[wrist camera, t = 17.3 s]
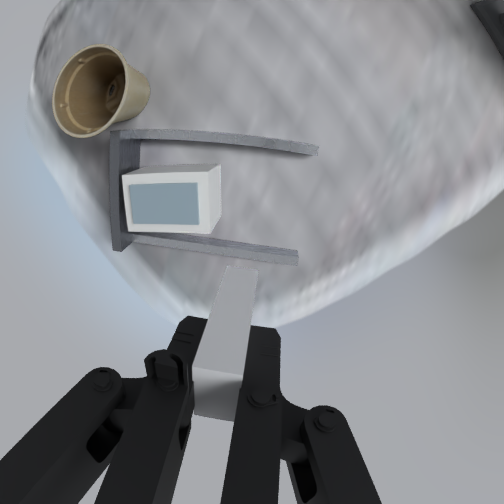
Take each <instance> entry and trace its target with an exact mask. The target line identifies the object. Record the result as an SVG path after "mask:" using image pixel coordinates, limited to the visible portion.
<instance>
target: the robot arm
mask: <svg viewBox="0 0 504 504" xmlns="http://www.w3.org/2000/svg"><path fill="white" fill-rule="evenodd" d="M258 271H259V270H258V269H251V268H244V267H237V266H231V265H227V267H226V270H225V273H224V276H223V279H222V281H221V284H220V287H219V290H218V293H217V296H216V298H215V301H214V304H213V307H212V310H211V313H210V315H209V318H208V319H204V318H198V317H193V316H187V317H186V318H184V319H183V320H182V321H181V322H179V325H178V327H177V329H176V331H175V333H174V335H173V338H172V341H171V342H170V344H169V346H168V348H167V350H165V349H163V350H158V351H154V352H152V353H151V354H149V355H148V356H147V357H146V358H145V359H144V362H145V367H146V372H147V376H146V377H143V378H121V376H120V374H119V373H118V372H116V371H115V370H114V369H111V368H107V367H100V368H96V369H93V370H92V371H90V372H89V373H88V374H86V375H85V377H83V378H82V379H81V380H80V381H79V382H78V383H77V384H76V385H75V386H74V387H73V388H72V389H71V390H70V391H69V392H68V393H67V394H66V395H65V396H64V397H63V398H62V399H61V400H60V401H59V402H58V403H57V404H56V405H55V406H54V407H52V408H51V409H50V411H48V413H46V414H45V416H44V417H43V418H41V419H40V420H39V421H38V422H37V423H36V424H35V425H34V426H33V428H31V429H30V430H29V432H28V433H27V434H26V435H25V436H24V437H23V438H22V439H21V440H20V441H19V442H18V443H17V444H16V445H15V446H14V447H13V448H12V449H11V450H10V451H9V452H8V453H7V454H6V455H5V456H4V457H3V458H2V459H1V460H0V504H78V503H79V501H80V500H81V499H82V498H83V496H84V495H85V494H86V493H87V491H88V490H89V489H90V488H91V486H92V485H93V484H94V483H95V481H96V480H97V479H98V478H99V476H100V475H101V474H102V473H103V471H104V470H105V469H106V467H107V466H108V465H109V464H110V465H109V467H108V470H107V472H106V475H105V477H104V480H103V482H102V485H101V487H100V490H99V492H98V495H97V498H96V500H95V503H94V504H171V501H172V498H173V494H174V490H175V486H176V482H177V478H178V475H179V471H180V467H181V464H182V460H183V456H184V452H185V448H186V444H187V441H188V437H189V434H190V430H191V417H192V414H193V410H194V414H195V415H199V416H204V417H209V418H215V419H220V420H226V421H233V422H234V426H233V433H232V439H231V444H230V450H229V456H228V462H227V469H226V474H225V480H224V485H223V491H222V497H221V503H220V504H278V492H279V472H280V459H283V460H285V461H286V463H287V467H288V470H289V474H290V478H291V482H292V485H293V489H294V493H295V497H296V500H297V504H382V503H381V501H380V498H379V496H378V493H377V491H376V489H375V486H374V484H373V481H372V479H371V477H370V474H369V472H368V470H367V467H366V465H365V462H364V460H363V458H362V455H361V453H360V451H359V448H358V446H357V444H356V441H355V439H354V437H353V434H352V432H351V430H350V428H349V425H348V423H347V420H346V418H345V417H344V415H343V414H342V413H341V412H340V411H339V410H337V409H336V408H334V407H330V406H316V407H313V408H312V409H310V410H307V409H304V408H301V407H298V406H296V405H294V404H292V403H290V402H289V401H287V400H286V399H285V397H284V396H283V395H282V393H281V391H280V348H281V344H280V343H281V338H280V336H279V334H278V332H277V330H276V329H274V328H267V327H260V326H253V325H251V319H252V313H253V306H254V299H255V292H256V285H257V278H258Z"/></svg>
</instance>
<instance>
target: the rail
mask: <svg viewBox="0 0 504 504" xmlns="http://www.w3.org/2000/svg"><path fill="white" fill-rule="evenodd" d="M141 139H170V140H190V141H204V142H217V143H228V144H237V145H246V146H255V147H263V148H270V149H278V150H284V151H291V152H297V153H303V154H309V155H315V156H317V155H318V148H319V146H317V145H312V144H306V143H300V142H294V141H287V140H281V139H274V138H266V137H258V136H250V135H241V134H230V133H219V132H206V131H189V130H163V129H129V130H118V131H110V157H109V191H110V218H111V234H112V246H113V250H114V251H120V252H122V251H123V250H124V249H125V248H126V247H127V246H128V245H130V244H131V243H132V242H138V243H145V244H151V245H158V246H165V247H171V248H178V249H185V250H191V251H198V252H205V253H212V254H218V255H225V256H232V257H239V258H246V259H253V260H260V261H267V262H274V263H281V264H288V265H295V266H297V264H298V259H299V256H298V251H297V250H290V249H283V248H276V247H269V246H262V245H255V244H248V243H241V242H234V241H227V240H220V239H213V238H206V237H198V236H191V235H184V234H177V233H169V232H130V231H128V225H127V218H126V210H125V202H124V193H123V183H122V175H124V174H126V173H129V172H132V171H134V170H137V169H139V162H140V141H141Z"/></svg>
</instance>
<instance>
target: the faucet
mask: <svg viewBox="0 0 504 504" xmlns="http://www.w3.org/2000/svg"><path fill="white" fill-rule="evenodd" d="M470 6H471V7H472V9H473V10H474V11H475V13H476V14H477V16H478V17H479V19H480V20H481V22H482V23H483V25H484V26H485V28H486V30H487V31H488V33H489V34H490V36H491V38H492V39H493V41H494V43H495V44H496V46H497V48H498V50H499V52H500V53H501V55H502V57H503V59H504V1H503V0H483V1H480V2H478V3H475V4H472V5H470Z"/></svg>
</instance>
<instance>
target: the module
mask: <svg viewBox="0 0 504 504" xmlns="http://www.w3.org/2000/svg"><path fill="white" fill-rule="evenodd" d="M122 183H123V193H124V202H125V210H126V218H127V225H128V231H130V232H172V233H206V234H210V233H211V232H212V230H213V228H214V227H215V225H216V224H217V222H218V220H219V219H220V217H221V216H222V215H221V165H220V164H182V165H160V166H145V167H143V168H140V169H137V170H134V171H132V172H129V173H126V174H124V175H122Z"/></svg>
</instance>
